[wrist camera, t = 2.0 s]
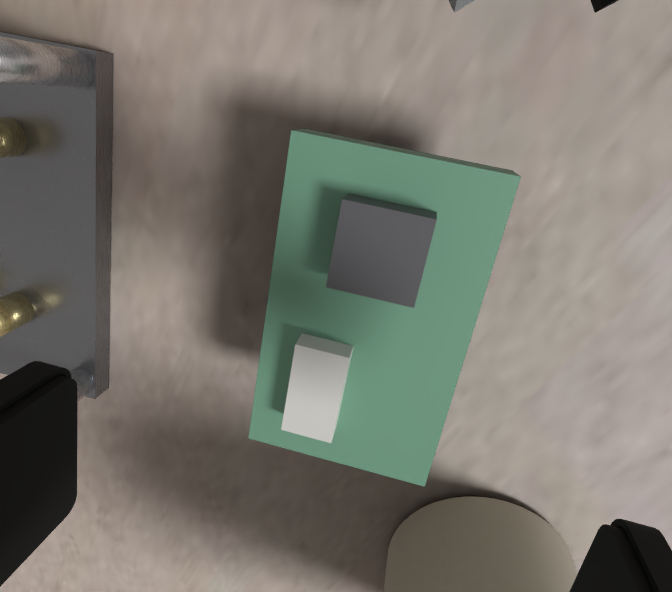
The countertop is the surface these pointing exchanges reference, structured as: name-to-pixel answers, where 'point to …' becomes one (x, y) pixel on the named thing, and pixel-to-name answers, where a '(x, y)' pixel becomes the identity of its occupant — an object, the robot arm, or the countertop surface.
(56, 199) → the chassis
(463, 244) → the board
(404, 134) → the countertop surface
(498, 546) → the travel mug
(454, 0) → the circuit breaker
